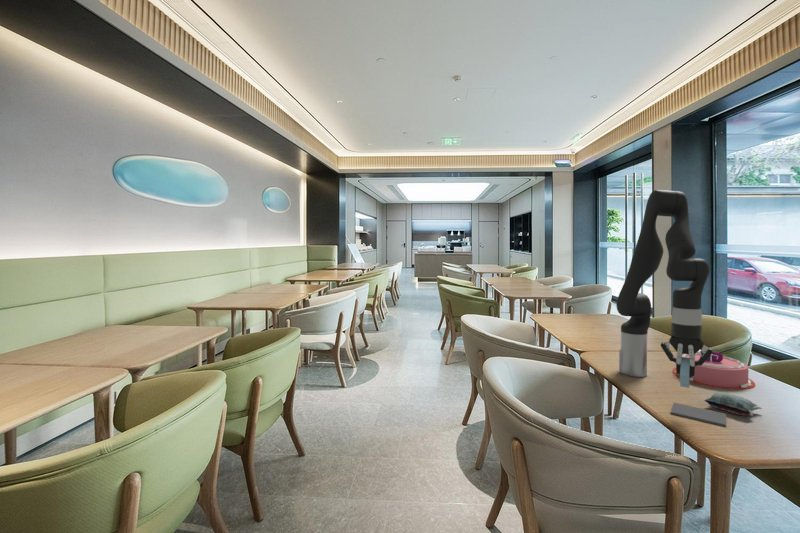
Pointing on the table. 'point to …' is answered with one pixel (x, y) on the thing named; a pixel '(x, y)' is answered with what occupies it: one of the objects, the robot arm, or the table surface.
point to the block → (685, 372)
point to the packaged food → (732, 403)
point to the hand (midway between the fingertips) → (685, 375)
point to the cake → (720, 372)
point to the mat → (699, 414)
